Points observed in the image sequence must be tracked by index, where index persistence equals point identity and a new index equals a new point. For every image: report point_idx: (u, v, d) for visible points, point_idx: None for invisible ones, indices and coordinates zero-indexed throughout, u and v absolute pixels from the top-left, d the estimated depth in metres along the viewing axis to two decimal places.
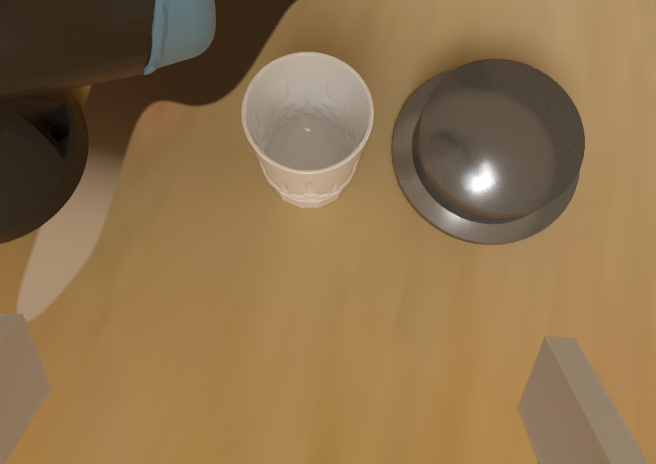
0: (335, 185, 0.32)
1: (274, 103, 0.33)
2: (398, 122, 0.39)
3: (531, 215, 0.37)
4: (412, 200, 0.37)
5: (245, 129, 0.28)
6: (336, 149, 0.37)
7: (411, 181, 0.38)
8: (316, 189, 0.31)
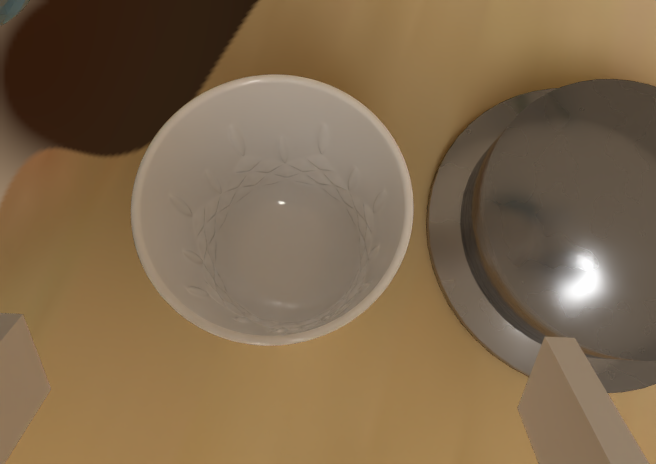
0: None
1: (219, 166, 0.18)
2: (437, 182, 0.24)
3: None
4: (464, 317, 0.22)
5: (138, 244, 0.13)
6: (335, 234, 0.22)
7: (462, 283, 0.22)
8: None
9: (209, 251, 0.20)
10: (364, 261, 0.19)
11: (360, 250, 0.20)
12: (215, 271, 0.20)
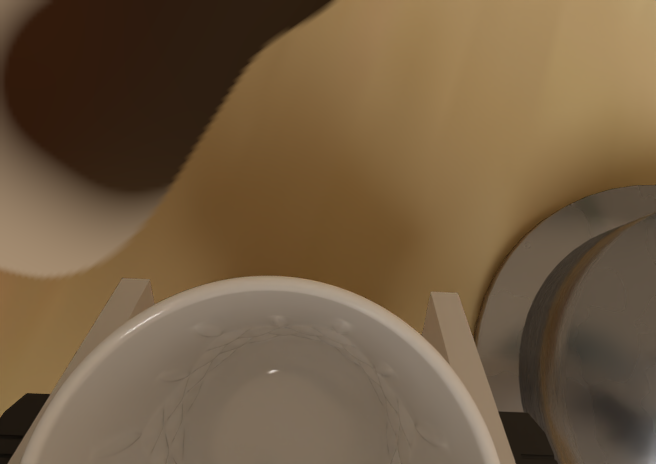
0: None
1: (184, 357, 0.12)
2: (486, 317, 0.18)
3: None
4: None
5: None
6: (352, 406, 0.16)
7: None
8: None
9: (173, 452, 0.14)
10: None
11: (388, 444, 0.14)
12: None
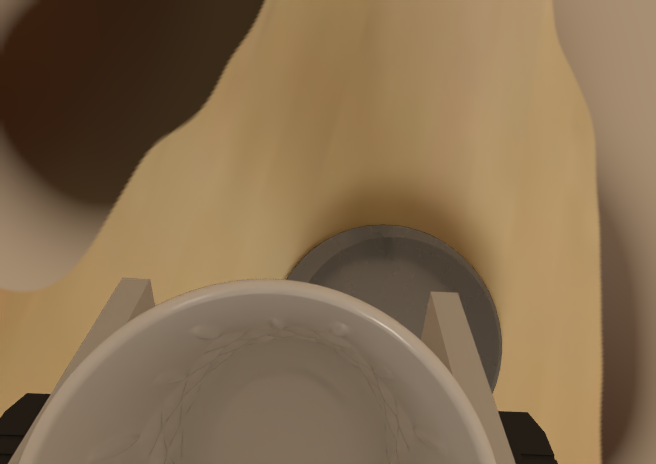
0: None
1: (182, 360, 0.12)
2: None
3: None
4: None
5: None
6: (350, 408, 0.16)
7: None
8: None
9: (171, 454, 0.14)
10: None
11: (387, 446, 0.14)
12: None
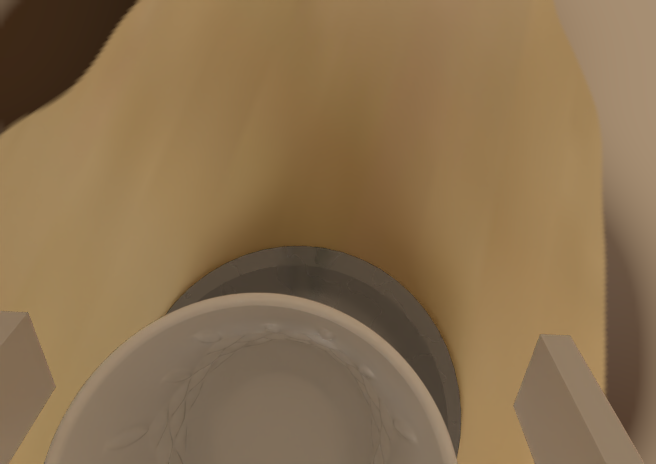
0: None
1: (186, 361, 0.13)
2: None
3: None
4: None
5: None
6: (340, 404, 0.17)
7: None
8: None
9: (176, 445, 0.15)
10: None
11: (373, 439, 0.16)
12: None
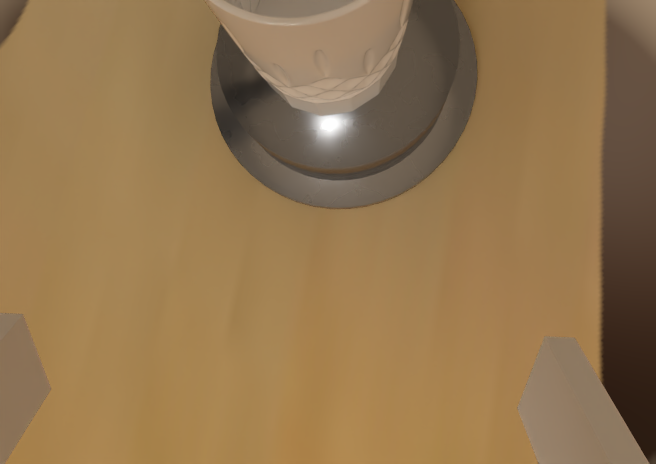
0: (371, 58, 0.18)
1: None
2: (216, 51, 0.28)
3: (405, 161, 0.26)
4: (239, 159, 0.27)
5: None
6: None
7: (237, 132, 0.27)
8: (337, 66, 0.17)
9: None
10: None
11: None
12: None
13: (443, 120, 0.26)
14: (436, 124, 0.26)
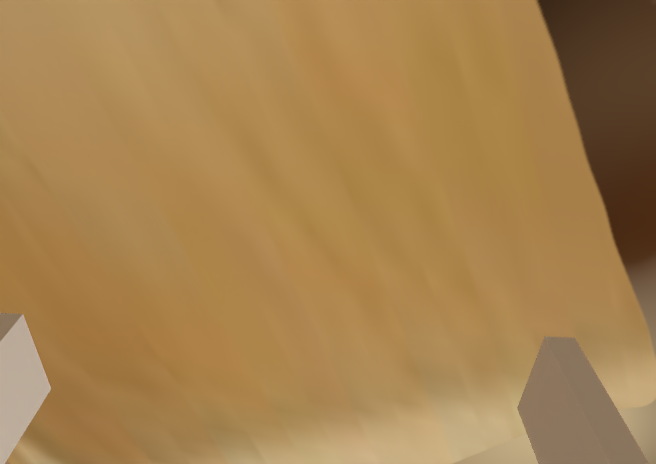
0: None
1: None
2: None
3: None
4: None
5: None
6: None
7: None
8: None
9: None
10: None
11: None
12: None
13: None
14: None
